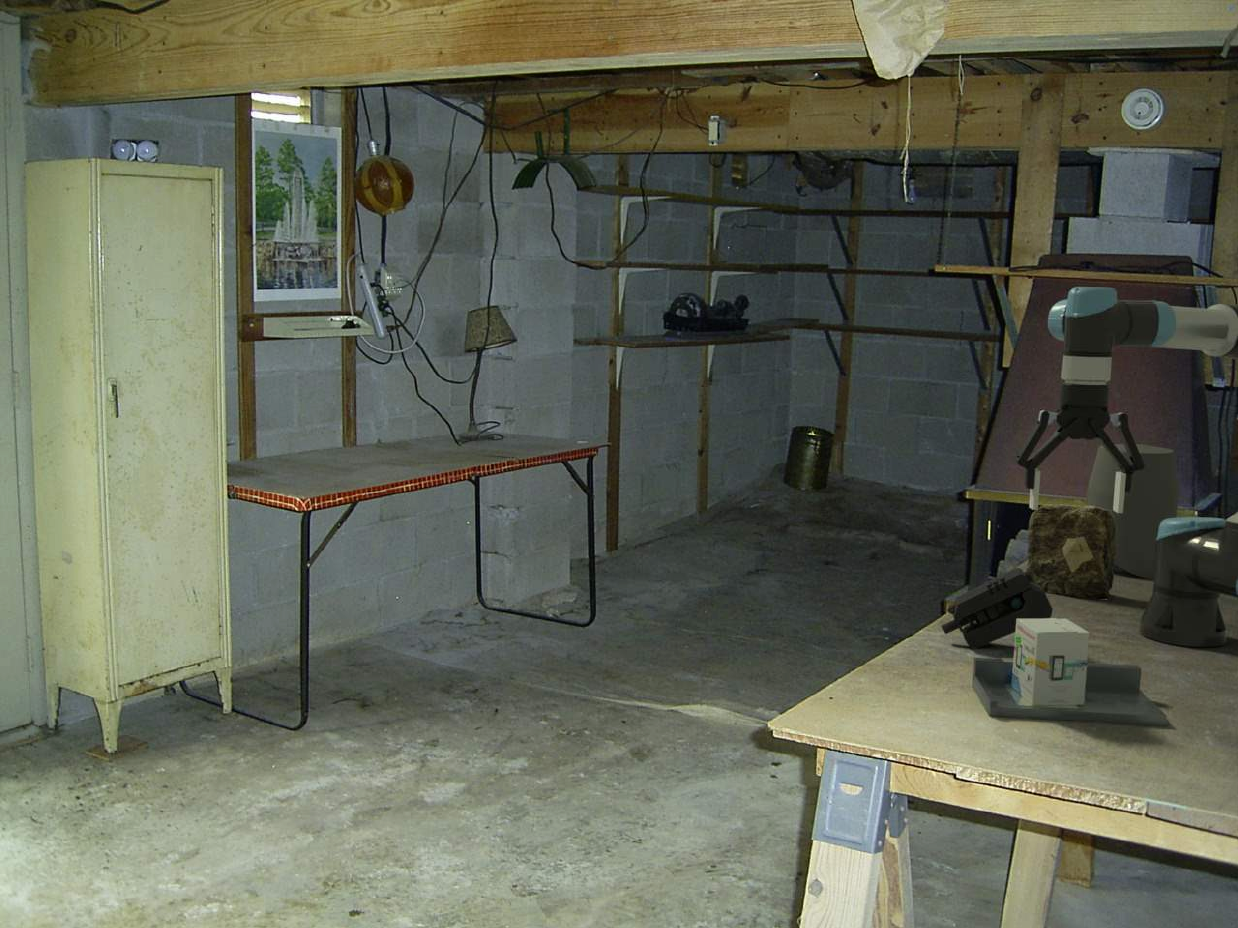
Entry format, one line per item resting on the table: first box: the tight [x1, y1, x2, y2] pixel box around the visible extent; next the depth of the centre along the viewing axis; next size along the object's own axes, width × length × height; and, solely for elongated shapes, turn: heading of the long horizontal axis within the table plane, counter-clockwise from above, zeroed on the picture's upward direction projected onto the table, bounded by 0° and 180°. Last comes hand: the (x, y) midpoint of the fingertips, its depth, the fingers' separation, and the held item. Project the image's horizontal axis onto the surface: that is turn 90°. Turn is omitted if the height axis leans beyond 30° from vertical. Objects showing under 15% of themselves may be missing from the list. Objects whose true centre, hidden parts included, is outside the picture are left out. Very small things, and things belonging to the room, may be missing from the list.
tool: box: [940, 567, 1053, 649], centre depth 222 cm, size 6×19×15 cm
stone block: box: [1025, 503, 1116, 601], centre depth 264 cm, size 18×9×20 cm, turn 68°
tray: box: [971, 657, 1168, 727], centre depth 191 cm, size 26×14×5 cm, turn 85°
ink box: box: [1011, 617, 1090, 705], centre depth 190 cm, size 8×8×12 cm
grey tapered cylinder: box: [1085, 443, 1180, 579], centre depth 289 cm, size 20×20×30 cm
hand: (1075, 510), depth 201 cm, fingers open, 13 cm apart
